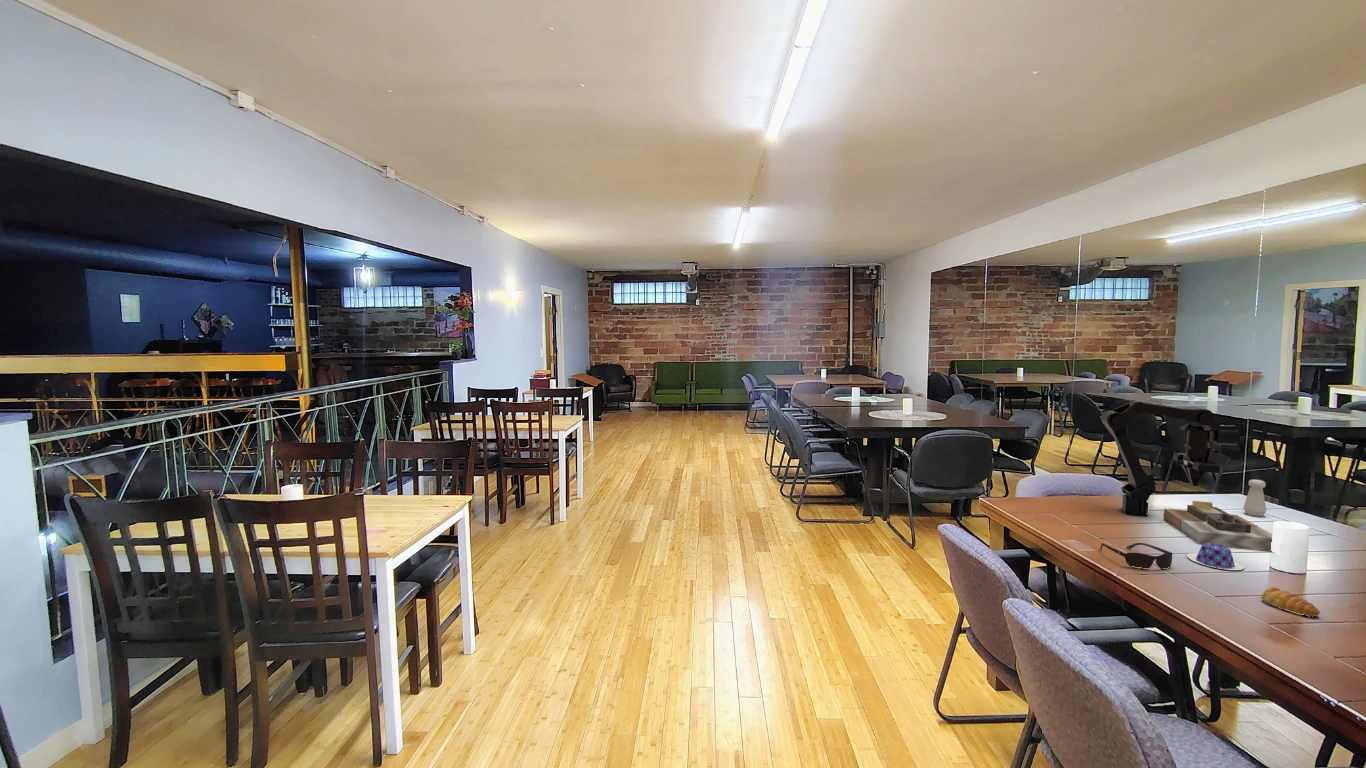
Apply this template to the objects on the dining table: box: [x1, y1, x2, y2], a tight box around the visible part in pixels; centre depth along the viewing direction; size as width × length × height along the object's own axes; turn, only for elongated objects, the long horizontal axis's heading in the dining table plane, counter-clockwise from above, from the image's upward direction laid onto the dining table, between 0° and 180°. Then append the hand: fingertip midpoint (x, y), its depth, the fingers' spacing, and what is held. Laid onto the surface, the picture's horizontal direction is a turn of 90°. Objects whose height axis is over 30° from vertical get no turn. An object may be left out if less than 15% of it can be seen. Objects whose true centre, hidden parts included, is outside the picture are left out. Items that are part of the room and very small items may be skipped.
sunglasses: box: [1100, 542, 1173, 569], centre depth 161 cm, size 14×16×5 cm
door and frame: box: [1163, 504, 1273, 552], centre depth 179 cm, size 20×24×6 cm
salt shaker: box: [1243, 479, 1267, 518], centre depth 197 cm, size 6×6×13 cm
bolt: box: [1191, 500, 1223, 520], centre depth 185 cm, size 5×8×4 cm, turn 159°
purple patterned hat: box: [1186, 543, 1245, 571], centre depth 157 cm, size 12×12×5 cm
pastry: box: [1260, 586, 1321, 618], centre depth 131 cm, size 9×7×4 cm
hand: (1194, 485), depth 194 cm, fingers closed
